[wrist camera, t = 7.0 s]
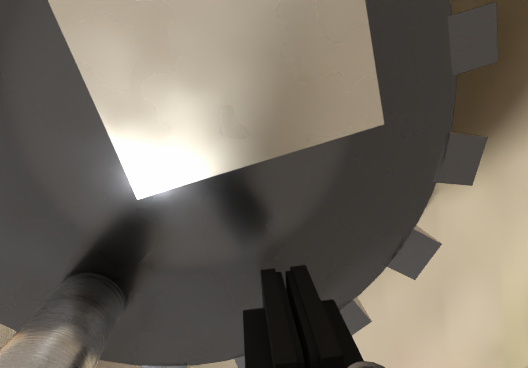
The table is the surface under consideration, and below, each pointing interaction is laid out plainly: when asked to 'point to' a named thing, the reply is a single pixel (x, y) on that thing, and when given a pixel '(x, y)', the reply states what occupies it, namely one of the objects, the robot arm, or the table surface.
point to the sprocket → (216, 163)
